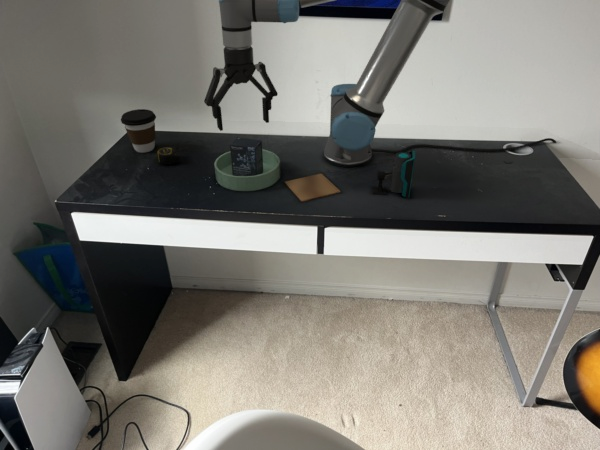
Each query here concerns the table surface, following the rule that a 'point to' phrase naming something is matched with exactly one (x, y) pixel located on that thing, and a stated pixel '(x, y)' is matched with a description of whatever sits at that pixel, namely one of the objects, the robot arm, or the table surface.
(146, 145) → the coffee cup
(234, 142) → the box
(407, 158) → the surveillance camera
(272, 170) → the bowl
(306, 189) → the mat
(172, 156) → the tape measure
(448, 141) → the table surface
